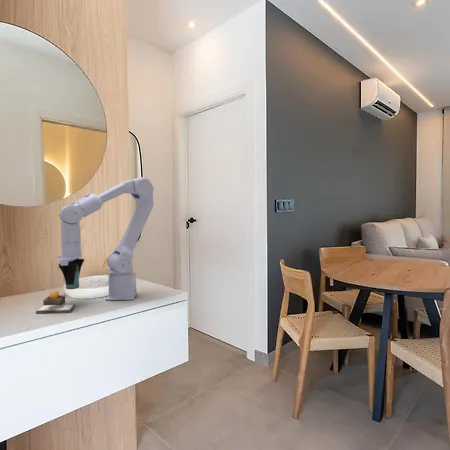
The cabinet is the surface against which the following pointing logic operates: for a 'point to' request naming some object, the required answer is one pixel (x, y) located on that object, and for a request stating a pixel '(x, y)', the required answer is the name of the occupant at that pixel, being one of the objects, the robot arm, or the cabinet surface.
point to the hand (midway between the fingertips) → (72, 282)
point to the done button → (54, 294)
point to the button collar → (54, 300)
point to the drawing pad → (55, 309)
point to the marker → (76, 282)
